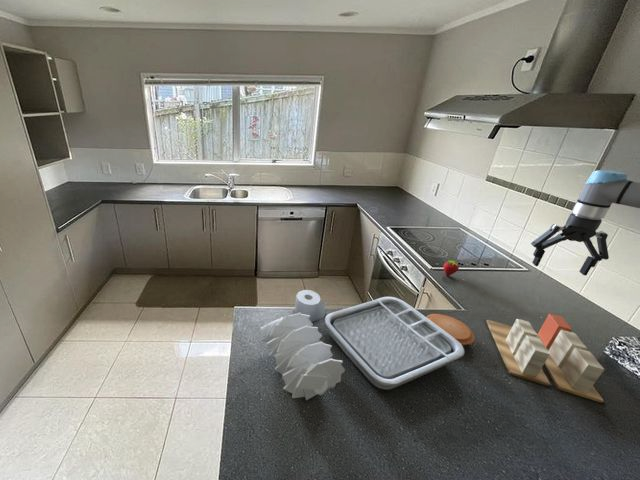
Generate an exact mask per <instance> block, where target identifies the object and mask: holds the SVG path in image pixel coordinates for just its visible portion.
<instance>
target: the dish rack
mask: <svg viewBox="0 0 640 480" xmlns="http://www.w3.org/2000/svg"><path fill="white" fill-rule="evenodd" d="M324 317H325V318H324V324H325V325H326V327H327V330H328V334H329V335H330V336H331V338H332V339H333V341H334V342H336V344H337V345H338V347H340V349H341V350H342V352H344V353H345V355H346V356H347V357H348V358H349V359H350V361H351V362H352V363H353V364H354V365H355V367H356V368H357V369H359V371H360V372H361V373H362V374H363V375H364V376H365V378H367V380H368V381H369V382H370V383H371V384H372V385H374V386H375V387H376V388H378V389H380V390H385V391H386V390H392V389H395V388H398V387H400V386H402V385H405V384H407V383H409V382H412V381H414V380H415V379H417V378H420V377H422V376H424V375H427V374H430V373H431V372H434V371H436V370H438V369H440V368H443V367H445V366H447V365H448V364H450V363H452V362H454V361H456V360H459V359H462V357H463V356H464V355H465V348H464V346H462V345H461V343H459V342H458V341H457V340H456V339H455V338H453V337H452V336H451V335H450V334H448V333H447V332H446V331H444V330H443V329H441V328H440V327H439V326H437V325H436V324H435V323H433V322H432V321H431V320H429V319H428V318H426V317H427V316H425V315H424V314H423V313H421V312H420V311H418V310H417V309H415V307H413V306H411V305H410V304H408V303H407V302H405V301H404V300H402V299H400V298H397V297H394V296H382V297H379V298H376V299H374V300H370V301H367V302H363V303H360V304H357V305H353V306H350V307H347V308H343V309H339V310H336V311H333V312H330V313H328V314H326V315H325V316H324Z"/></svg>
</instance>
